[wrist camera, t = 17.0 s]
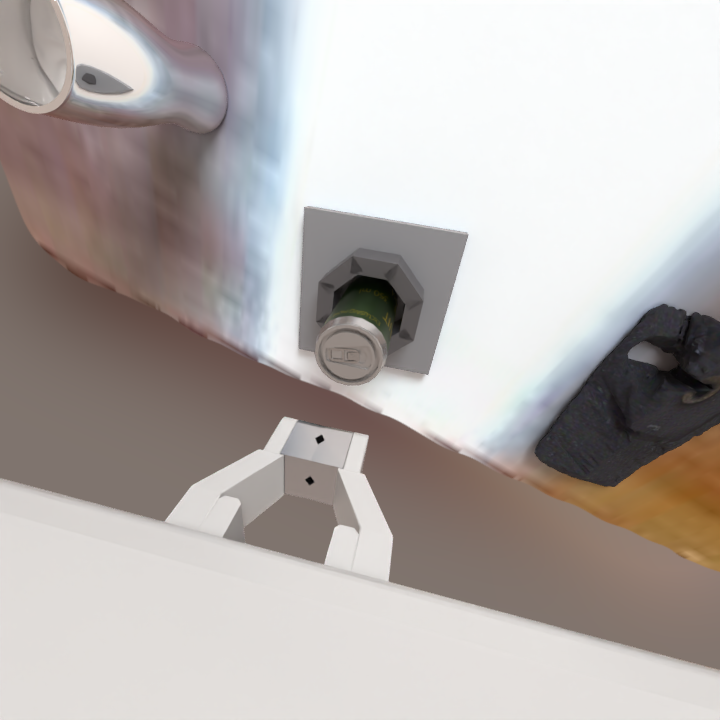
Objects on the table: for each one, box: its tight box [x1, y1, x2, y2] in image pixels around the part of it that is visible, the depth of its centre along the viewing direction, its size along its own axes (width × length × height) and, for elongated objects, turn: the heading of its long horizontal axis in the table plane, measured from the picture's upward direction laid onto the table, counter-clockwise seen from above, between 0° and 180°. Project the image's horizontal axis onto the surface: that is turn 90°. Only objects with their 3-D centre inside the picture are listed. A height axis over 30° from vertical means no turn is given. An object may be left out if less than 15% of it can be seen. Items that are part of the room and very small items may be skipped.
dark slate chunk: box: [535, 304, 720, 487], centre depth 34 cm, size 15×22×5 cm
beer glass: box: [0, 0, 227, 134], centre depth 22 cm, size 7×7×15 cm
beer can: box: [315, 276, 398, 385], centre depth 29 cm, size 5×5×12 cm
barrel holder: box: [299, 206, 468, 375], centre depth 33 cm, size 15×15×5 cm
